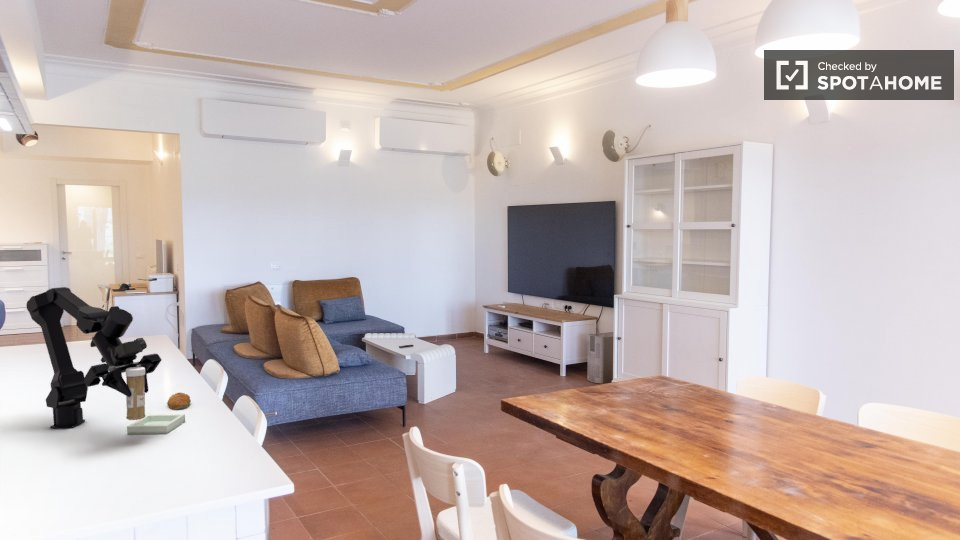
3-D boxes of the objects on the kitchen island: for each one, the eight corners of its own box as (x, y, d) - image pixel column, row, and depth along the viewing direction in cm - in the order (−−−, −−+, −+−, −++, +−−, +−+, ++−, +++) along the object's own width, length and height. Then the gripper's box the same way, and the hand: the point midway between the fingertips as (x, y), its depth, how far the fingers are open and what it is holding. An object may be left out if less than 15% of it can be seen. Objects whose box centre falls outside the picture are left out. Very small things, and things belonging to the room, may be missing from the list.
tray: (127, 434, 179) (126, 426, 179) (147, 422, 190) (147, 414, 190) (167, 433, 179) (166, 426, 179) (185, 421, 190) (184, 414, 190)
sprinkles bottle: (146, 419, 171) (146, 368, 171) (127, 421, 169) (126, 370, 168) (144, 415, 175) (143, 365, 175) (124, 417, 172) (124, 367, 172)
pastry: (192, 409, 204) (191, 397, 204) (168, 412, 201) (168, 400, 201) (189, 402, 212) (188, 390, 212) (166, 405, 209) (166, 393, 209)
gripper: (88, 335, 164) (116, 383, 160) (155, 324, 180) (183, 367, 176) (71, 362, 169) (99, 410, 164) (139, 349, 185) (165, 392, 180)
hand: (138, 393), depth 171 cm, fingers closed on sprinkles bottle, 4 cm apart
